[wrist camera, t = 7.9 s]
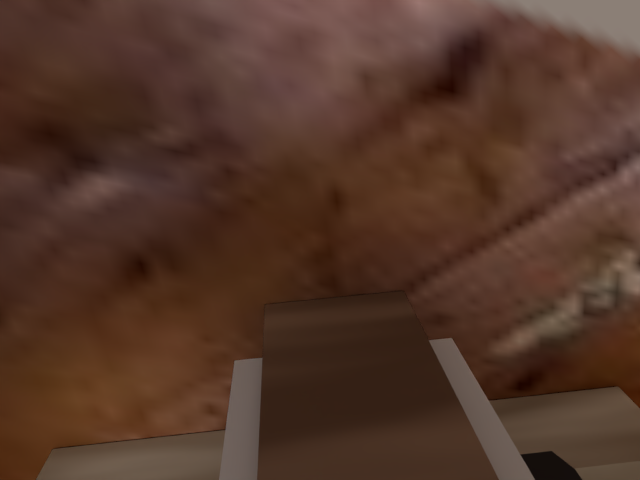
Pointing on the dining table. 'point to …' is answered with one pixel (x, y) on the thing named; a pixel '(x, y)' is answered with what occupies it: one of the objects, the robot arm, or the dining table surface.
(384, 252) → the dining table surface
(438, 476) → the open square frame
